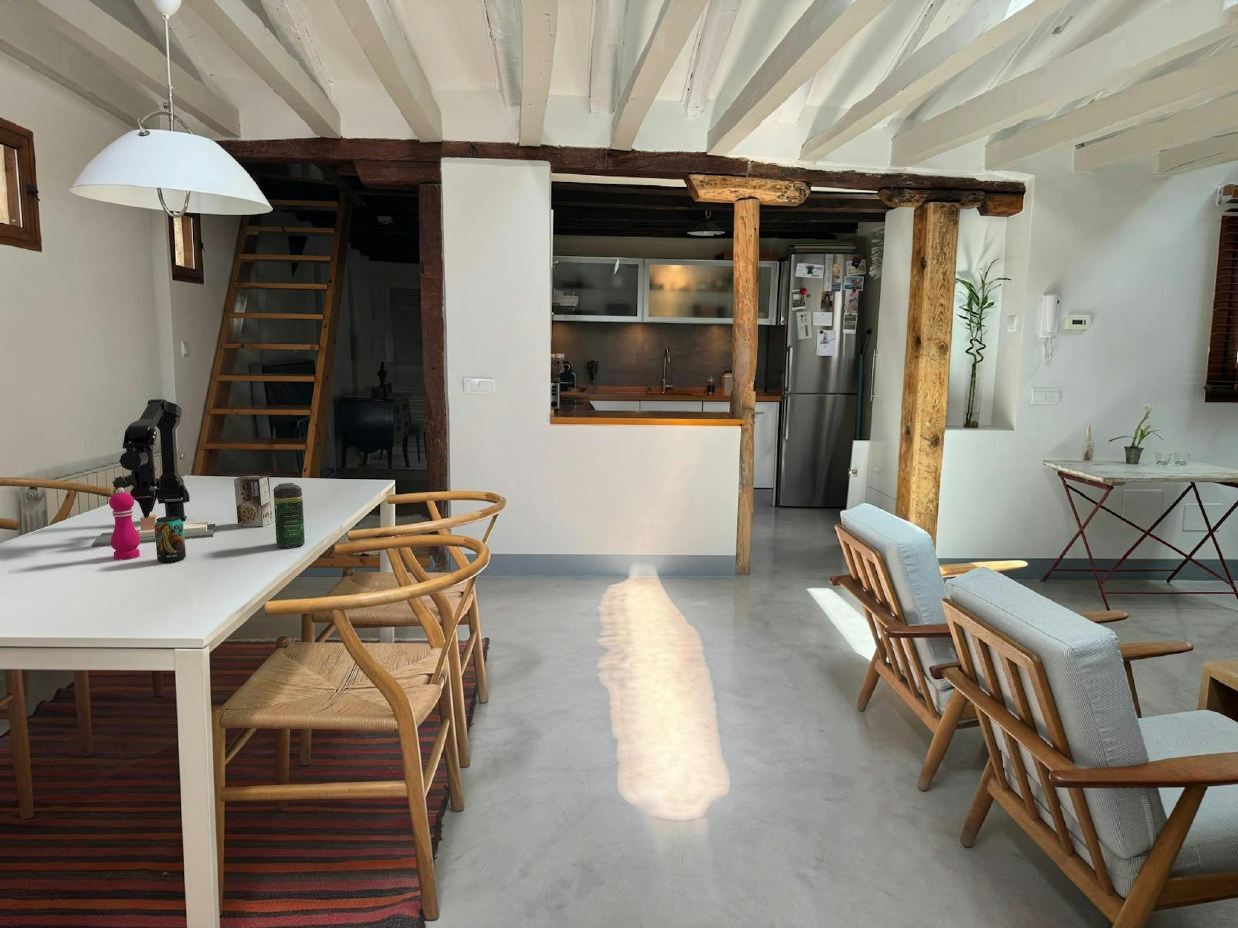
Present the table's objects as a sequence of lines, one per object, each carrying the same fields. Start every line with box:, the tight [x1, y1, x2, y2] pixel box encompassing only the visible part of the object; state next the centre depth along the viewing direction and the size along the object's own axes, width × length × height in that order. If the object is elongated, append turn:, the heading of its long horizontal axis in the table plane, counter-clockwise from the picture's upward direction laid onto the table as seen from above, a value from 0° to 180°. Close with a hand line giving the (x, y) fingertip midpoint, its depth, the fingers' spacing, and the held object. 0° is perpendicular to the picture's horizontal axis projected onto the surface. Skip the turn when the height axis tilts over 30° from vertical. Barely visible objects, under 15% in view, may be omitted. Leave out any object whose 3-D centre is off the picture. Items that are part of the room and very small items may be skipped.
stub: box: [138, 514, 158, 537], centre depth 251 cm, size 8×6×6 cm
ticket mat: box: [92, 521, 216, 548], centre depth 252 cm, size 16×32×2 cm, turn 114°
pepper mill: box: [108, 488, 141, 561], centre depth 226 cm, size 7×7×20 cm
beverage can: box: [154, 516, 187, 564], centre depth 224 cm, size 7×7×12 cm
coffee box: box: [233, 475, 273, 527], centre depth 267 cm, size 9×6×16 cm
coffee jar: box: [272, 482, 306, 549], centre depth 240 cm, size 10×8×19 cm
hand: (148, 514), depth 251 cm, fingers open, 9 cm apart
